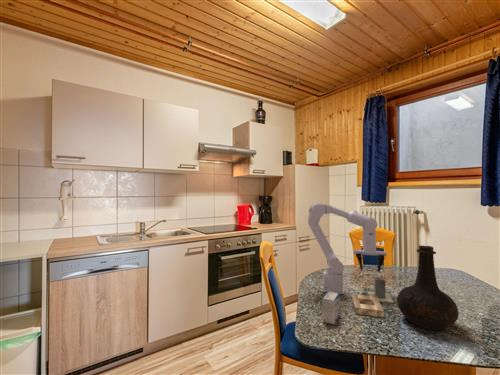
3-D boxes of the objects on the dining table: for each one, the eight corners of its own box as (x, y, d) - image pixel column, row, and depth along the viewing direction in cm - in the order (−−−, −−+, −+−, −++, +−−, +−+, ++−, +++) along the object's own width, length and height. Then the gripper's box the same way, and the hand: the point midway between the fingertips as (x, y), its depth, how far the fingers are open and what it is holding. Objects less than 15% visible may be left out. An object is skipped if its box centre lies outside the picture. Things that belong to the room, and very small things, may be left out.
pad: (370, 300, 110) (370, 299, 110) (367, 292, 118) (367, 291, 118) (393, 303, 107) (393, 301, 107) (388, 295, 115) (388, 293, 115)
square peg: (375, 297, 111) (375, 279, 111) (374, 294, 115) (373, 276, 115) (385, 298, 110) (385, 280, 110) (383, 295, 114) (383, 277, 114)
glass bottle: (387, 312, 98) (385, 241, 99) (430, 311, 99) (427, 241, 100) (422, 338, 80) (419, 251, 81) (473, 336, 81) (470, 250, 82)
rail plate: (355, 313, 97) (355, 307, 97) (352, 299, 110) (352, 293, 111) (383, 317, 94) (383, 310, 94) (377, 302, 107) (377, 296, 107)
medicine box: (334, 325, 89) (334, 300, 89) (322, 321, 91) (322, 298, 91) (339, 316, 95) (339, 293, 96) (327, 313, 98) (327, 291, 98)
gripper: (353, 242, 118) (354, 271, 118) (387, 244, 114) (388, 274, 113) (352, 240, 125) (353, 267, 125) (384, 241, 121) (385, 269, 120)
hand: (369, 270), depth 119 cm, fingers open, 7 cm apart
